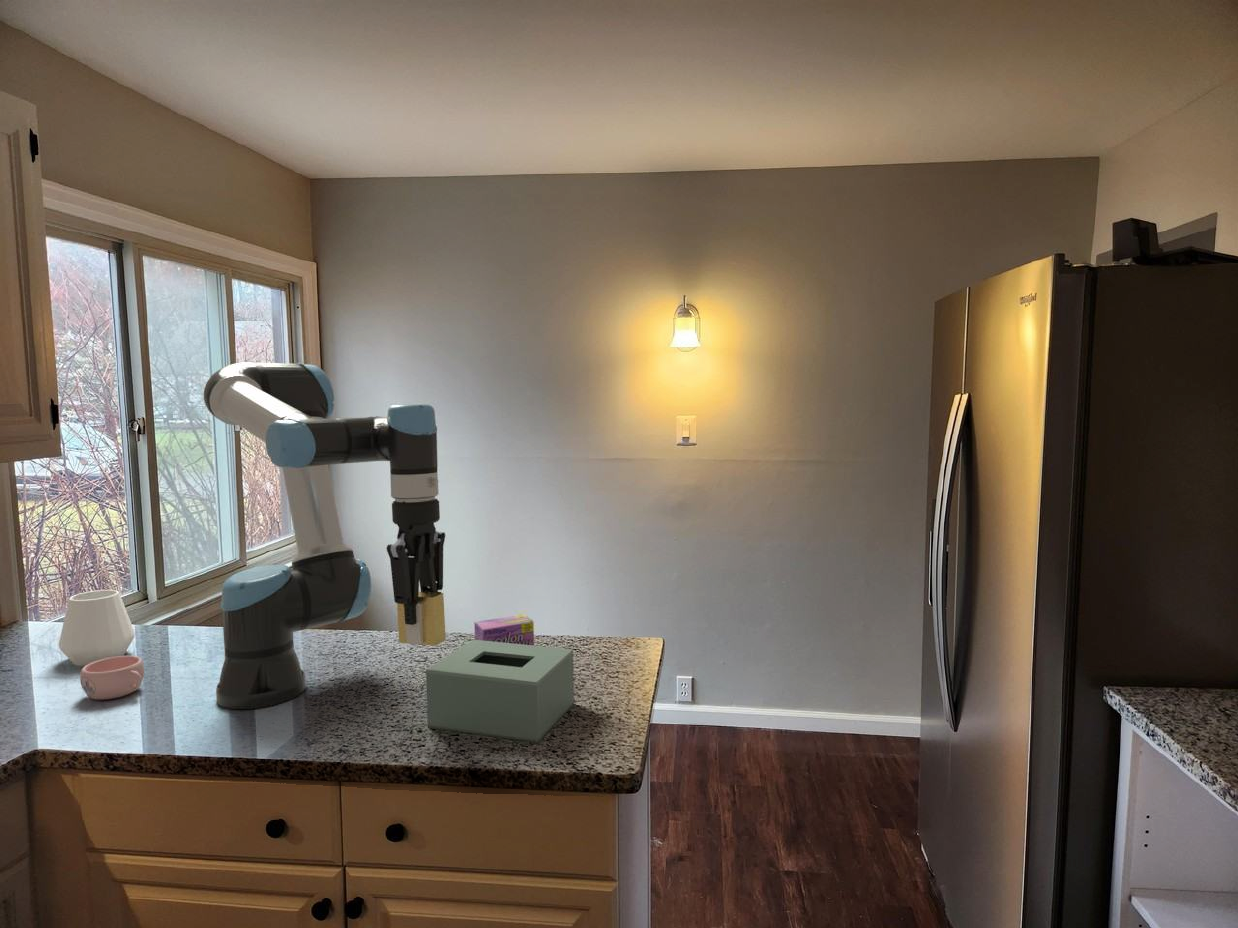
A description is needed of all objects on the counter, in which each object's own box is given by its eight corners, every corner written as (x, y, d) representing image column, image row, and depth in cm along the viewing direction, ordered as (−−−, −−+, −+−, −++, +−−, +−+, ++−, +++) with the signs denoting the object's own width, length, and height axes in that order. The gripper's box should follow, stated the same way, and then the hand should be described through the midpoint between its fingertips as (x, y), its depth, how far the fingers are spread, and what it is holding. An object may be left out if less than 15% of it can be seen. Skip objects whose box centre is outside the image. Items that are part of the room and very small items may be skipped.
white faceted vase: (148, 654, 163) (143, 591, 162) (77, 673, 152) (72, 606, 150) (118, 644, 170) (113, 584, 169) (48, 661, 159) (43, 597, 158)
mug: (68, 701, 138) (66, 669, 137) (120, 681, 147) (118, 652, 147) (116, 709, 134) (113, 677, 133) (165, 688, 143) (163, 658, 143)
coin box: (427, 727, 125) (425, 669, 124) (474, 691, 140) (472, 639, 139) (537, 742, 119) (536, 682, 118) (574, 703, 134) (573, 649, 133)
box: (484, 689, 141) (482, 628, 140) (475, 679, 146) (473, 620, 145) (535, 679, 146) (534, 620, 145) (525, 670, 151) (524, 613, 150)
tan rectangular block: (399, 642, 124) (396, 595, 123) (409, 637, 127) (407, 590, 126) (435, 645, 122) (433, 597, 121) (445, 640, 125) (443, 592, 124)
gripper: (405, 505, 114) (412, 656, 116) (461, 493, 129) (466, 626, 131) (364, 504, 116) (371, 652, 118) (424, 492, 131) (429, 623, 133)
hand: (421, 638), depth 124 cm, fingers closed on tan rectangular block, 3 cm apart
